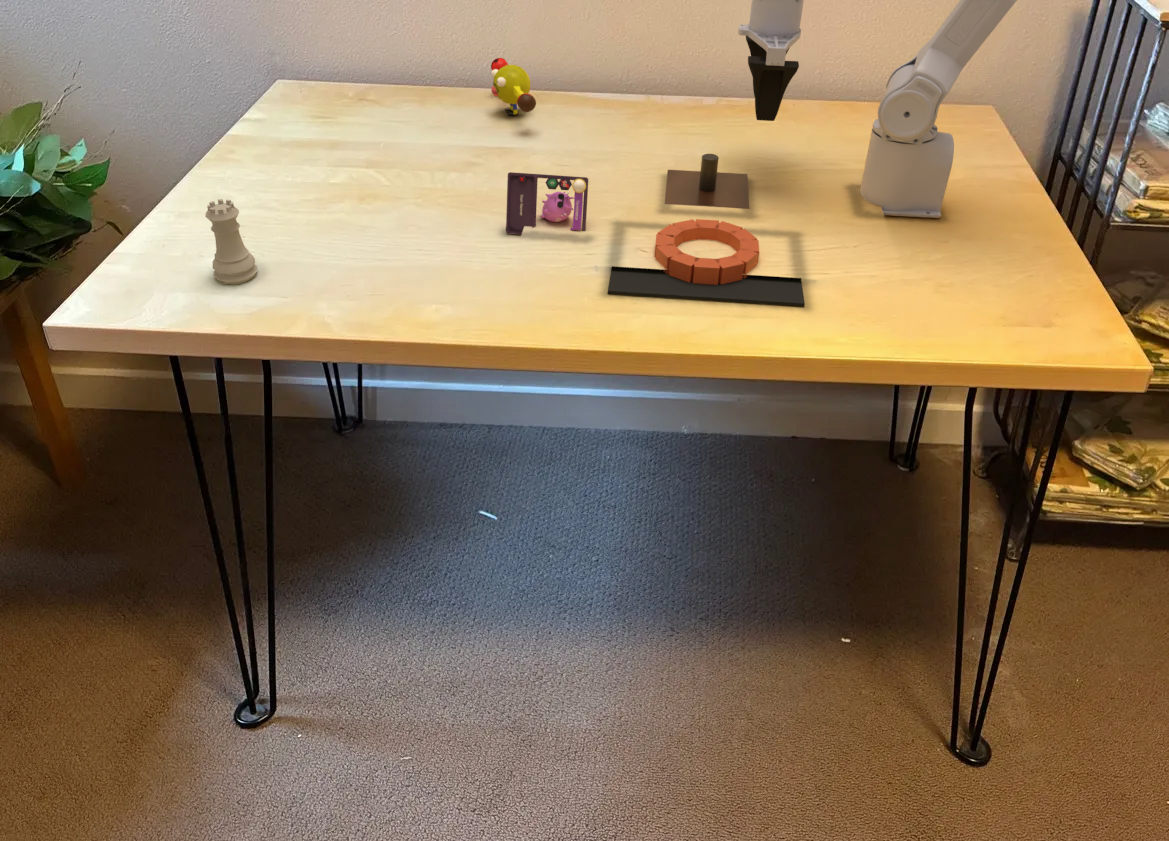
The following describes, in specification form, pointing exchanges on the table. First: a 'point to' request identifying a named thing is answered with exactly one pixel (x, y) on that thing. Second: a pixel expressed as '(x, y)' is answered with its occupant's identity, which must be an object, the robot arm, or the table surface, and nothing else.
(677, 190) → the stand
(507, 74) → the toy figure
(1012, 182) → the table surface
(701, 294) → the tray
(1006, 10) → the robot arm
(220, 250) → the rook chess piece
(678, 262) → the ring
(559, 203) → the game card
